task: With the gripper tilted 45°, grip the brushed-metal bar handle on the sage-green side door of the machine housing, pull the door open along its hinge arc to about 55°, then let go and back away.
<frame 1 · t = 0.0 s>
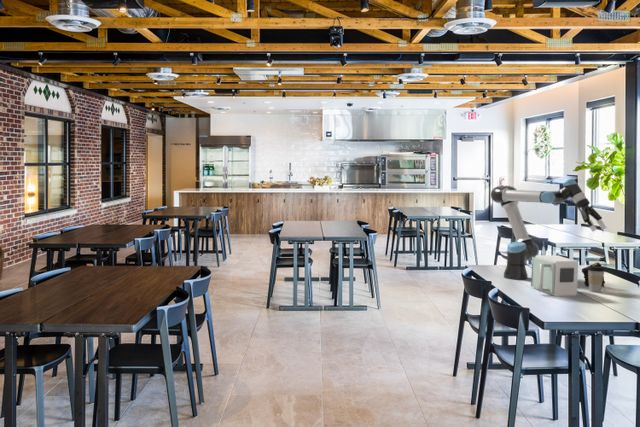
hand: (599, 229, 343), 36 cm above the table, tool tilted 35°, fingers open, 13 cm apart
machine housing: (554, 291, 332), on the table
coffee cup: (594, 291, 333), on the table
side door: (537, 275, 330), point 10 cm above the table, hinge at 0.0°
dark bumpy flat shape: (592, 286, 348), on the table
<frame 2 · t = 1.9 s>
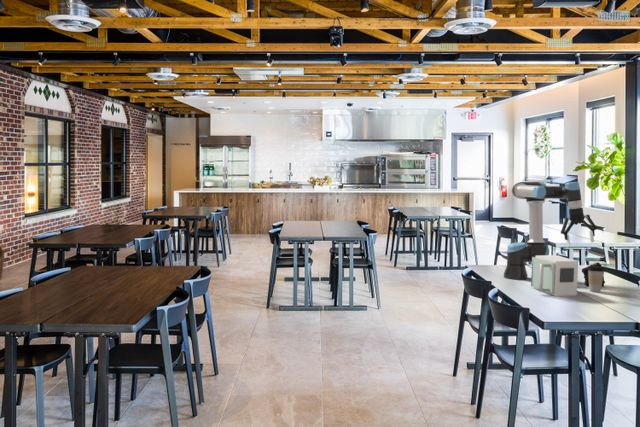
hand: (580, 243, 327), 29 cm above the table, tool pointing down, fingers open, 13 cm apart
nothing on the table moved.
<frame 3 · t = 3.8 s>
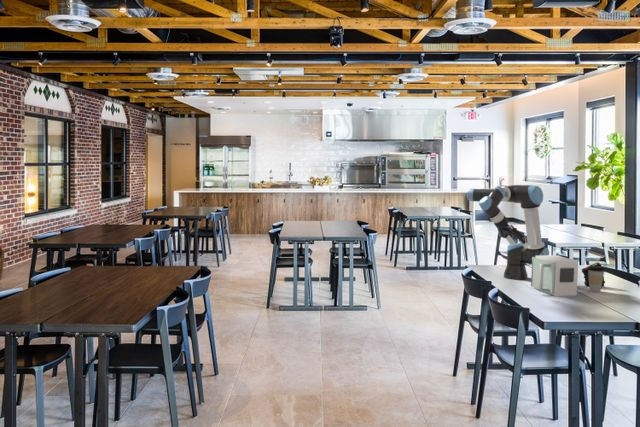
hand: (520, 245, 325), 28 cm above the table, tool tilted 40°, fingers open, 13 cm apart
nothing on the table moved.
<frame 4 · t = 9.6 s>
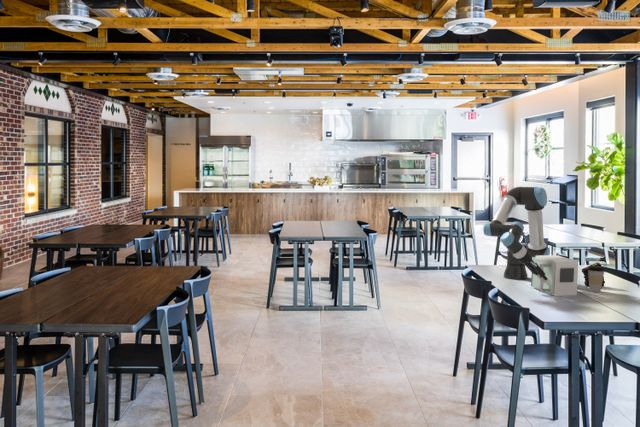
hand: (547, 282, 322), 7 cm above the table, tool tilted 45°, fingers open, 3 cm apart
side door: (537, 275, 330), point 10 cm above the table, hinge at -0.1°, touching gripper
everything else where it was.
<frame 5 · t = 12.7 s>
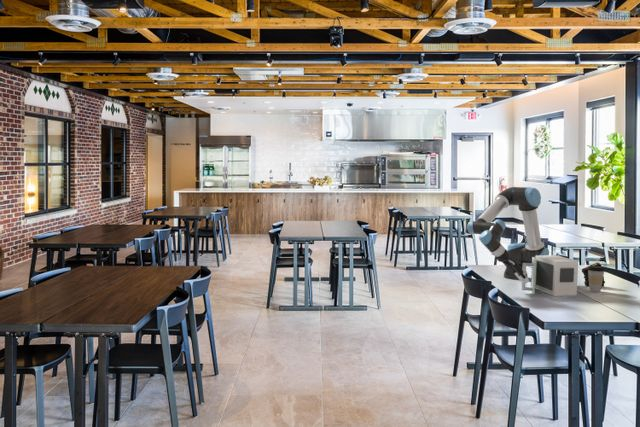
hand: (525, 280, 327), 7 cm above the table, tool tilted 45°, fingers open, 5 cm apart
side door: (528, 274, 332), point 10 cm above the table, hinge at 27.9°, touching gripper
everything else where it was.
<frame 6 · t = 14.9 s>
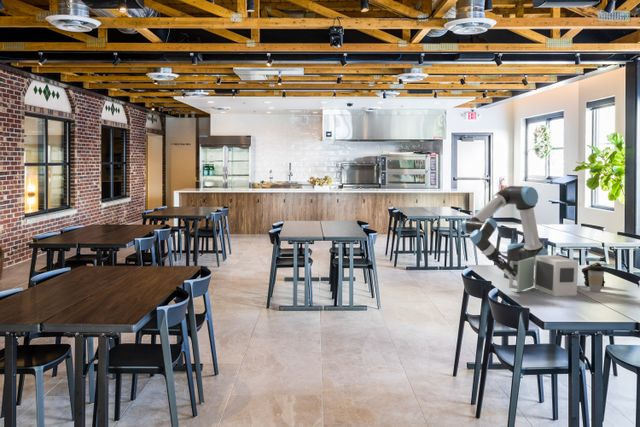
hand: (514, 277, 333), 8 cm above the table, tool tilted 45°, fingers open, 8 cm apart
side door: (521, 273, 335), point 10 cm above the table, hinge at 51.0°, touching gripper
everything else where it was.
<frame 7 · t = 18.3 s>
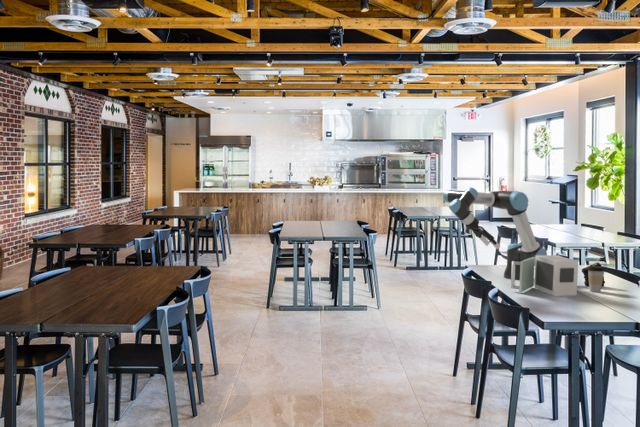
hand: (493, 246, 329), 27 cm above the table, tool tilted 45°, fingers open, 13 cm apart
side door: (522, 273, 334), point 10 cm above the table, hinge at 47.2°
everything else where it was.
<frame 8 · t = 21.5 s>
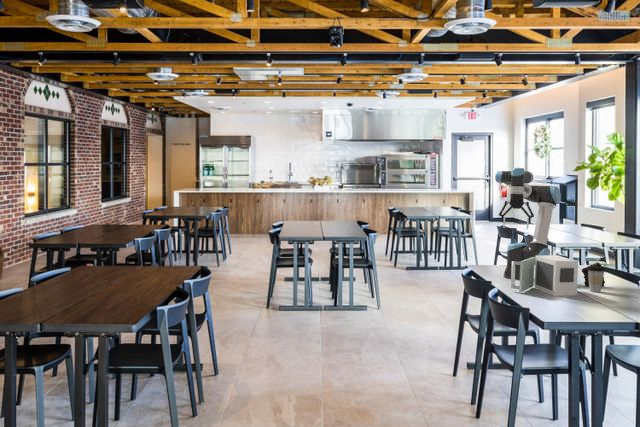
hand: (515, 228, 339), 37 cm above the table, tool pointing down, fingers open, 13 cm apart
nothing on the table moved.
at the end: side door at +47° (first picture: +0°); the gripper is holding nothing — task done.
